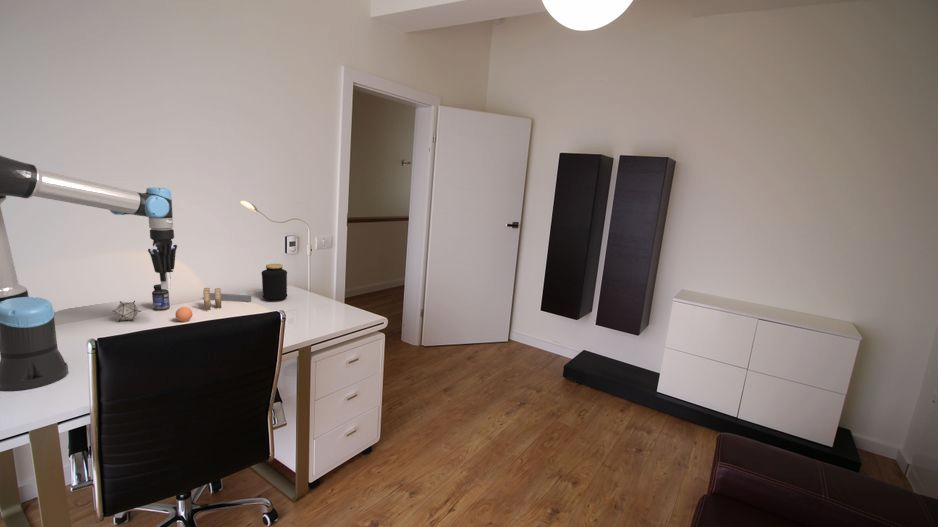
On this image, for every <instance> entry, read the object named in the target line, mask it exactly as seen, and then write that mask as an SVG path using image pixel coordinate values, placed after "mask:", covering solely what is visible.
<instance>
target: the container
mask: <svg viewBox="0 0 938 527" xmlns="http://www.w3.org/2000/svg"><path fill="white" fill-rule="evenodd" d="M287 275H288V271H287V270H286V269H283V264H280V263H269V264H266V265H265V269H264V270H262V271H261V282H262V284H261V286H262V299H263V300H265V301H268V302H279V301H283V300H285V299H287V297H288V296H289V295H288V276H287Z"/></svg>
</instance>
